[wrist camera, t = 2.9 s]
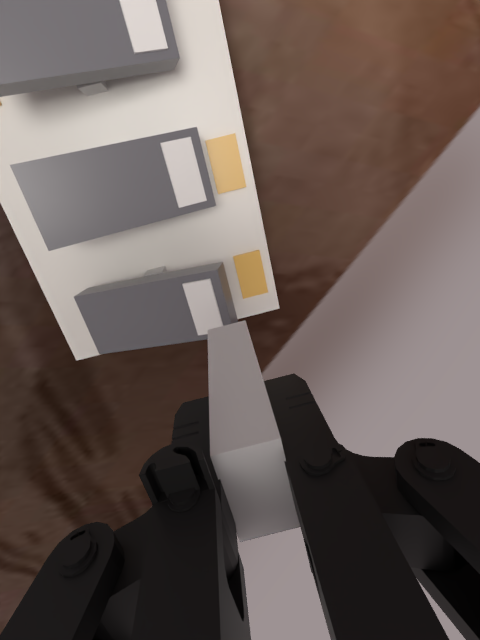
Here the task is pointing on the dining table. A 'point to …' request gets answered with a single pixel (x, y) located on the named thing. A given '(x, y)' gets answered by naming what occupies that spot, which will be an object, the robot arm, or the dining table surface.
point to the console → (133, 123)
